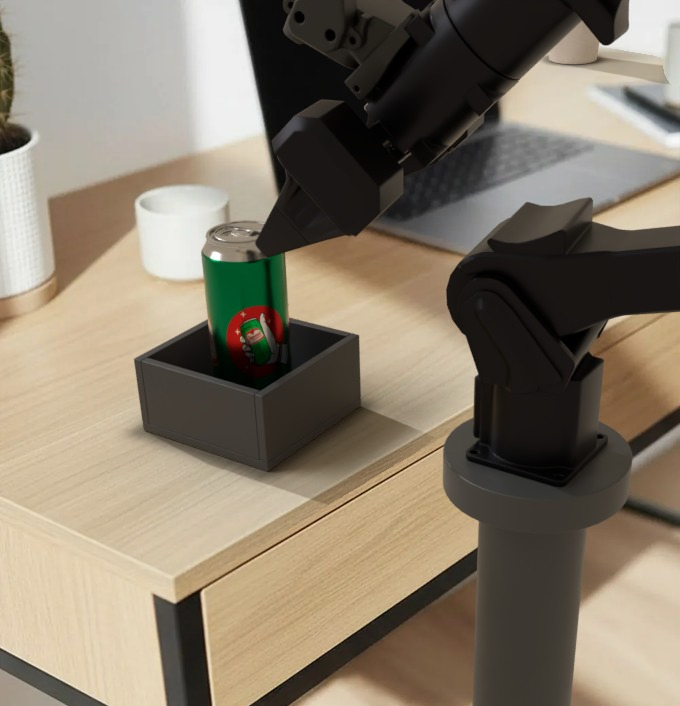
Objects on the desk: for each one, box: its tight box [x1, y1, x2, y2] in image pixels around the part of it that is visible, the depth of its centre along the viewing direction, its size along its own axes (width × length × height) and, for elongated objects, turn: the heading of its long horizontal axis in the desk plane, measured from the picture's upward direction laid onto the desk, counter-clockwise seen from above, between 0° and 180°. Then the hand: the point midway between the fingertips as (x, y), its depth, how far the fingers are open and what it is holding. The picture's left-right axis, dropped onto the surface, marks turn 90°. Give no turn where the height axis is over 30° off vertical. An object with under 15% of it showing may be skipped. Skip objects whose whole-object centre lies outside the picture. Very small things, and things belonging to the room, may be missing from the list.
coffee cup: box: [548, 21, 600, 65], centre depth 161 cm, size 10×10×15 cm
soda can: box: [200, 219, 292, 391], centre depth 75 cm, size 5×5×12 cm
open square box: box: [133, 317, 362, 472], centre depth 77 cm, size 10×10×5 cm
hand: (295, 223), depth 70 cm, fingers open, 9 cm apart
